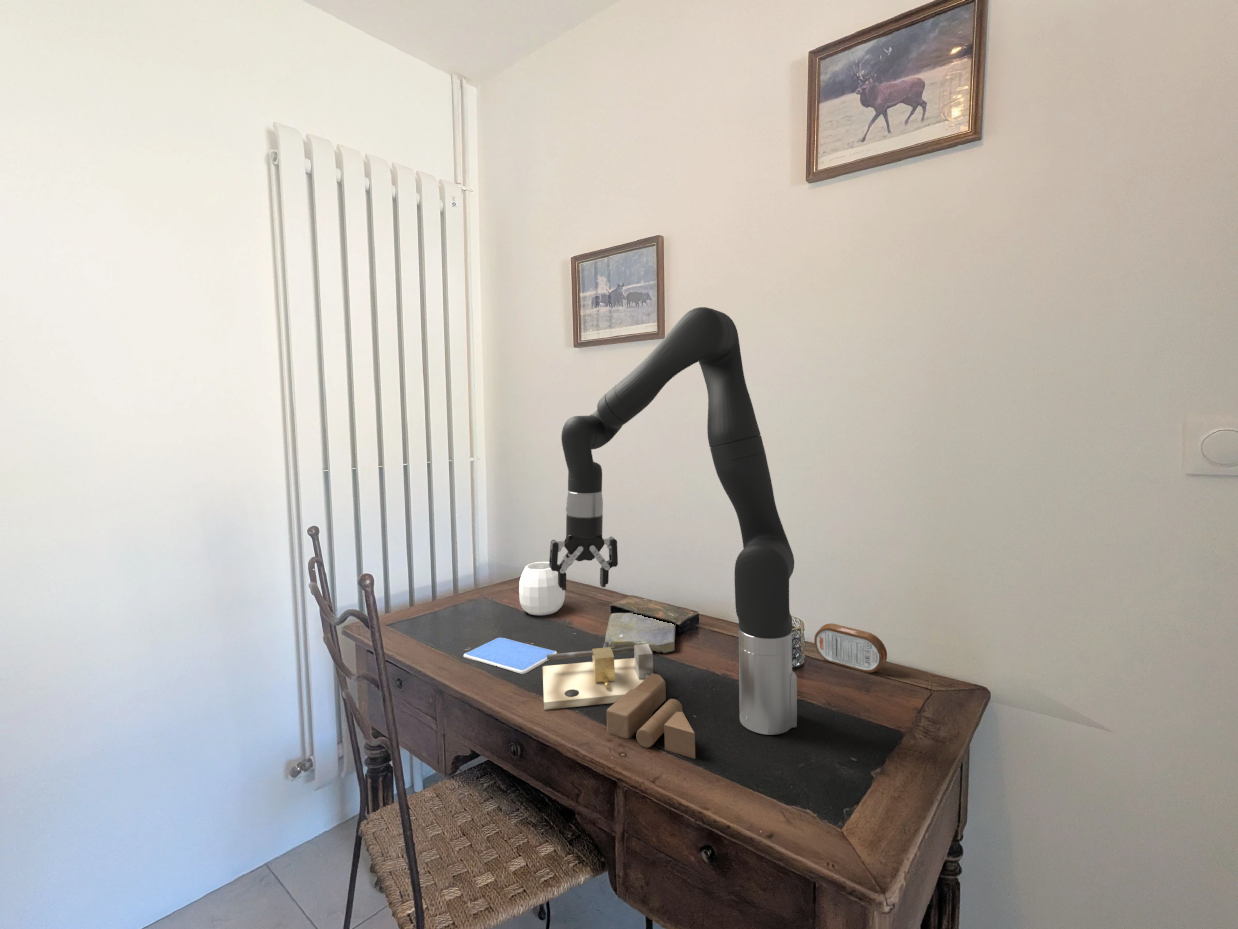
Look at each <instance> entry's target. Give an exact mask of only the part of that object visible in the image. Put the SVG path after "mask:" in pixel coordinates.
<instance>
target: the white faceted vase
mask: <svg viewBox="0 0 1238 929" xmlns="http://www.w3.org/2000/svg"><path fill="white" fill-rule="evenodd" d="M518 581H519V585H518V586H519V587H518V596H519V604H520V606H521V608H522V610H524V612H526V613H528V614H529V615H533V616H548V615H552V614H554V613H556V612H558V611H559V610H560V609H561V608H562V606H563V605H564V602H565V599H566V598H565V597H566V590H562V589H561V588H560V587H559V585H558V572H557V571H552V570H551V568H550V566H549V561H538V562H532V563H528V564H527V565H525V567H524V569H523V570H522V573H521V575H520V578H519V580H518Z"/></svg>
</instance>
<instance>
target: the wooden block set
mask: <svg viewBox="0 0 1238 929" xmlns="http://www.w3.org/2000/svg"><path fill="white" fill-rule="evenodd" d="M666 699H667V697H666V681H665V680H664V678H663V677H662V675H660V674H657V673H654V672H653V673H652V674H651V675H650V676H649V677H647V678H646V679H645V680H644V681H643V682H642V683H641V684H639V685H638V686H637V687H636V688H635V689H630V690H629V691H628V692H627V693H626V694H625V695H623V696H622V697H621V698H620V699H619V700H618V701H616V702H615V703H612V704H611V705H610V706H609V707H608V708H607V709H606V732H607V734H610V735H614V736H617V737H620V738H624V739H627V740H628V739H630V738H632V737H633V736H634V735H635V737H636V741H637V743H638V744H639V745H640V746H641V747H643V748H646V749H647V748H651V747H652V746H653V745H654V744H655V743H656V742H657V741H658V739H659V738H660V737H661V736H662V735H663V734H664V750H665V751H667V752H671V753H675V754H677V755H681V756H684V757H687V758H690V759H695V760H696V738H695V737H696V733H695V731H694V730H693V728H692V726H691V725H690V723H689V721H688V719H687V717H686V716H685V713H684V712H683V705H682V703H681V702H680V700H677V699H675V698H669V699H668V700H667V701H666ZM665 701H666V702H665ZM664 702H665V703H664ZM663 703H664V704H663ZM662 704H663V705H662ZM661 705H662V706H661ZM660 706H661V707H660ZM659 707H660V708H659ZM658 708H659V709H658ZM657 709H658V710H657ZM656 710H657V711H656ZM654 712H655V713H654ZM653 713H654V714H653ZM635 733H636V734H635Z"/></svg>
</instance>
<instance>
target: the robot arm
mask: <svg viewBox="0 0 1238 929" xmlns="http://www.w3.org/2000/svg"><path fill="white" fill-rule="evenodd" d="M739 338H740V337H739V333H738V329H737V325H736V324H735V322H734V321H733V320H732V318H731V317H730V316H729V315H728V314H726V313H724V312H723V311H719V310H717V309H714V308H711V307H706V306H705V307H703V306H700V307H696V308H693V309H690V310H689V311H687V312H686V313H685V314H684V315H683V316H682V317H681V318H680V319H679V320H678V321H677V323H675V325H674V326H673V327H672V328H671V329H670V330H669V332H668V333H667V334H666V336H665V337H664V338H663V339H661V341H660V342H659V343H658V345H657V346H656V347H655V348H654V349H652V351H651V352H650V353H649V354H648V355H647V357H645V359H644V360H643V361H641V363H640V364H639V365H638V366H636V367H635V368H634V369H633V370H632V371H631V372H630V373H629V374H627V375H626V376H625V377H623V379H622V380H620V381H619V382H618V383H617V384H615V385H614V386H612V388H611V389H610V390H608V391H607V392H606V393H605V394H604V395H603V396H602V397H601V398H600V399H599V400H598V402H597V404H596V408H597V409H596V410H595V411H594V412H593V413H591V414H589V415H575V416H574V415H573V416H571V417H569V418H568V419H567V420H566V421H565V423H564V425H563V426H562V430H561V436H560V438H561V446H562V451H563V455H564V459H565V463H566V467H567V471H568V474H567V480H568V481H567V497H566V506H565V513H566V515H565V516H566V518H565V520H566V524H565V527H566V528H565V530H566V531H565V532H566V533H565V540H564V541H563V540H560V541H559V540H556V539H552V540H551V541H550V548H549V549H550V550H549V560H548V562H549V566H550V568H551V570H552V571H557V572H558V585H559V587H560V588H561V589H562V590H565V591H567V570H568V569H569V568H570V567H571V566H572V565H573V563H574V562H575V561H577V562H583V561H593V560H594V559H595V560H596V561H597V562H598V563H599V565H600V566H601V567H600V568H599V585H600V588H606V586H607V585H608V584H609V579H610V578H609V576H610V574H609V571H610V570H611V568H616V567H618V565H619V559H618V558H619V557H618V540H617V539H615V538H614V537H613V536H609V537H608V538H603V520H604V518H603V517H604V516H603V514H604V512H603V511H604V510H603V509H604V502H603V501H604V499H603V492H602V491H603V469H602V465H601V464H600V463H598V462H596V461H594V458H593V452H592V450H596V449H600V448H602V447H603V446H605V445H607V444H608V443H609V442H610V441H611V440H612V439H613V438H614V437H615V436H616V435H617V434H618V433H619V432H620V430H621V429H622V427H623V426H624V425H625V424H628V423H629V422H630V421H631V420H632V419H633V418H635V417H636V416H637V415H638V414H640V413H641V412H643V411H644V410H645V408H647V407H648V406H649V405H650V404H651V402H652V401H654V399H656V397H657V396H658V394H659V393H660V392H661V391H662V389H663V388H664V387H665V385H666V384H668V383H669V382H670V380H672V378H674V377H676V376H677V375H678V374H679V373H681V372H682V371H684V370H686V369H688V368H689V367H691V366H692V365H694V364H697V363H698V364H699V367H700V369H701V373H702V375H703V378H704V382H705V386H706V390H707V398H708V402H707V406H708V407H707V428H706V429H707V432H706V433H707V441H708V447H709V449H710V454H711V457H712V462H713V465H714V468H715V472H716V475H717V478H718V480H719V481H720V484H721V486H722V487H723V490H724V491H725V493H726V495H727V497H728V499H729V501H730V502H731V504H732V506H733V509H734V511H735V513H736V516H737V519H738V523H739V527H740V534H741V539H742V540H741V541H742V545H743V546H742V548H743V549H742V550H741V551H740V552H739V554H738V556H737V557H736V559H735V564H734V599H735V603H734V604H735V613H736V616H737V619H738V677H739V678H738V686H739V687H738V690H739V691H738V692H739V695H738V696H739V702H738V703H739V704H738V706H739V707H738V709H739V710H738V711H739V722H740V724H741V725H742V726H743V727H744V728H746V729H747V730H749V731H751V732H754V733H756V734H760V735H766V736H767V735H769V736H772V735H780V734H784V733H787V732H788V731H789V730H790V729H793V728H797V727H798V726H797V725H798V724H797V722H798V707H797V706H798V704H797V703H798V697H797V696H798V683H797V682H798V679H797V678H798V676H797V674H796V673H795V672H794V671H793V616H792V614H791V613H790V612H791V611H790V579H791V576H792V575H793V572H794V569H795V557H794V556H795V555H794V553H793V550H792V548H791V545H790V543H789V540H788V537H787V535H786V531H785V528H784V526H783V523H782V521H781V518H780V515H779V512H778V508H777V505H776V500H775V495H774V488H773V484H772V477H771V472H770V468H769V465H768V459H767V454H766V450H765V446H764V443H763V438H762V435H761V434H762V433H761V431H760V428H759V425H758V422H757V418H756V414H755V409H754V407H753V403H752V399H751V396H750V393H749V390H748V386H747V383H746V378H745V373H744V368H743V367H744V366H743V361H742V353H741V346H740V345H741V344H740V339H739ZM604 546H605V547H606V548H607V549H608V560H606V559H605V558H604V557H603V556H602V554H601V550H602V549H603V548H604ZM563 548H565V550H566V551H567V552H566V553H565V555H564V556H562V560H561V561H560V563H558V561H559V553H561V551H562V549H563Z"/></svg>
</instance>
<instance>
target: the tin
mask: <svg viewBox="0 0 1238 929" xmlns="http://www.w3.org/2000/svg"><path fill="white" fill-rule="evenodd" d="M814 645H815V647H814V648H815V649H816V651H817V653H818V654H819V655H820V656H821V657H822V658H823V659H824V660H825V661H826V662H830V663H831V664H835V665H839V666H842V667H846V668H849V669H853V670H856V671H859V672H863V673H869V674H870V673H874V672H877V671H878V670H880V669H881V668H882V667H883V666H884V665H885V664H886V662H887V659H888V651H887V648H886V646H885V644H884V643H883V641H882V640H881V639H880V638H879V637H878V636H876V635H875V634H873V633H872V632H870V631H869V632H868V631H865V630H861V629H858V628H857V629H856V628H853V627H848V626H844V625H841V624H837V623H826V624H824V625H822V626H821V627H820V628H819V629H818V630H817V631H816V632H815V635H814Z"/></svg>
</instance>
